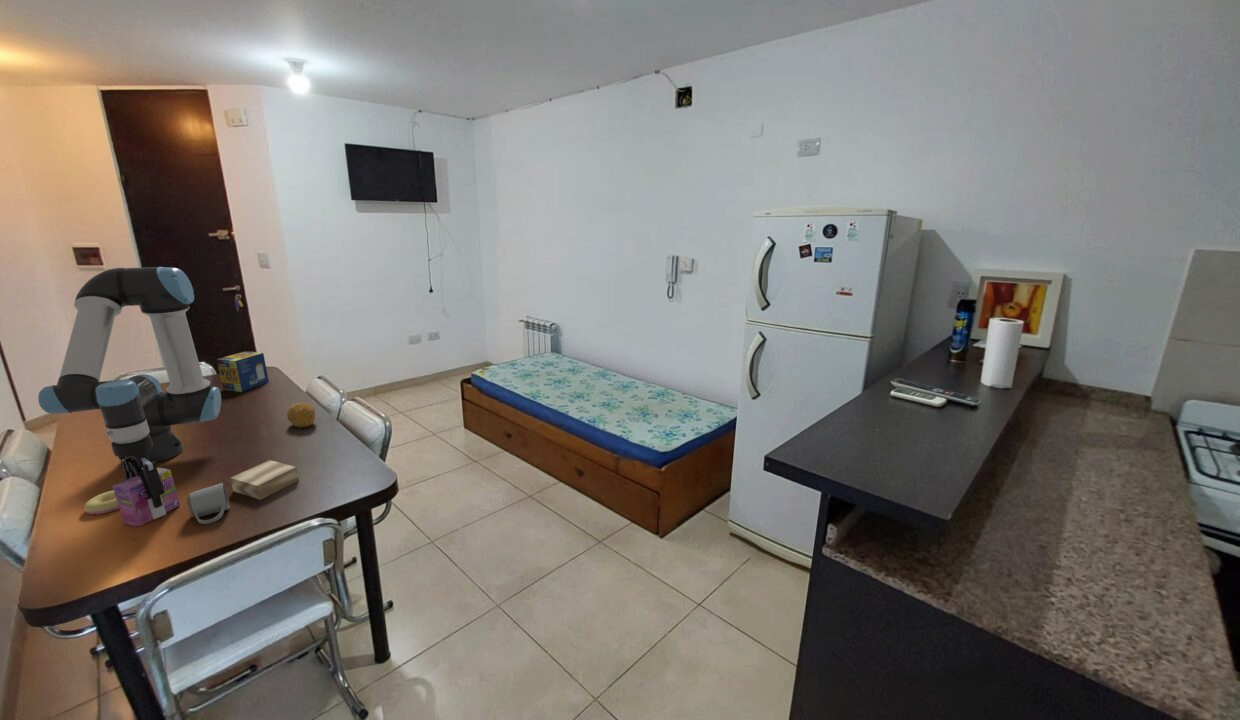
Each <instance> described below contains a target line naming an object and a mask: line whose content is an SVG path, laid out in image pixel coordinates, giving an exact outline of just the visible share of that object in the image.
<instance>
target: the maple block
mask: <svg viewBox="0 0 1240 720" xmlns="http://www.w3.org/2000/svg"><path fill="white" fill-rule="evenodd" d="M298 481H300V479H299V474H298V469H297V467H296V466H293V465H290V464H286V463H282V462H278V461H276V460H275V461H274V460H271V459H269V460H267V461H264V462H262V463H260V464H257V465H255V466H254V467H251V468H249V469H247V470H244V471H242V472H239V473H238V474H235V475H233V476H231V477H230V483H231V487H232V492H234V493H238V494H241V495H245V496H246V497H251V498H254V499H257V500H263V499H264V498H267V497H269V496H270V495H273V494H275V493H277V492H278V491H280V490H283V489H284V488H286V487H288V486H291V485H292V484H294V483H296V482H298Z"/></svg>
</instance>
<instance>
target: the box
mask: <svg viewBox="0 0 1240 720" xmlns="http://www.w3.org/2000/svg"><path fill="white" fill-rule="evenodd" d="M157 471H158V474H159V477H160V480H161V483H162V486H163V489H164V492H165V494H163V495H161V497H162V501H163V504H164V508H165V511H166V513H168V512H170V511H172V510H173V509H175V508H177V507H179V506H181V502H180V499H179V497H178V493H177V490H176V486H175V482H174V478H173V476H172V471H171V469H169V468H162V467H157ZM111 487H112V489H113V490H114V493H115V496H116V499H117V503H118V506H119V509H118V510H119V511H120V514H121V515H120V516H121V517H122V522H123V524H125V525H130V526H133V527H134V526H135V527H141V526H143V525H145V524H147V523H149V522H151V521H153V520H154V519H153V518H152V515H151V511H150V508H149V504H148V501H147V500H146V499H145V498H147V497H148V495H147V493H146V491H145V488H144V485H143V482H141V480H140V477H139V476H135V477H132V478H130V479H128V480H126V479H125V480H123V481H121V482H118V483H116V484H114V485H111ZM113 490H112V491H113Z"/></svg>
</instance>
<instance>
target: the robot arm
mask: <svg viewBox="0 0 1240 720" xmlns="http://www.w3.org/2000/svg"><path fill="white" fill-rule="evenodd" d="M194 301H195V294H194V288H193V286H192V282H191V280H190V279H189V277H188V276H187V274H185V272H184V271H183V270H181V269H180V268H176V267H168V266H167V267H164V266H154V267H153V266H151V267H147V266H145V267H115V268H114V267H113V268H108V269H106V270H103V271H102V272H98V273H97V274H96V275H94V276H92V277H91V278H90V279H88V281H86V282H84V285H83V286H82V287H81V288H80V289H79V291H78V292H77V294H76V297H75V300H74V303H73V305H74V308H75V309H76V310H77V312H76V316H75V318H74V319H75V320H74V323H73V326H72V330H71V334H70V337H69V341H68V344H67V348H66V352H65V355H64V359H63V362H62V367H61V370H60V373H59V374H60V375H59V377H58V379H57V382H56V385H55V384H52V385H49V386H44V387H43V388H42V389H41V390H39V393H38V396H37V397H38V398H37V399H38V400H37V401H38V405H39V407H40V408H41V409H42V411H44V412H45V413H46V414H47V413H48V414H51V415H55V414H72V413H77V412H78V413H79V412H86V411H94V410H100V412H101V415H102V419H103V421H104V424H105V428H106V430H107V431H106V432H104V434H105V436H108V437H109V441H111V443H110V445H111V448H112V451H113V455H114V456H115V457H117V458H118V459H119V461H120V463H121V468H122V470H123V474H124V479H125V480H128V479H130V478H132V477H135V476H139V477H140V480H141V482H143V485H144V488H145V491H146V493H147V495H148V497H147V498H145V499H146V500H147V501H148V504H149V508H150V511H151V515H152V518H153V520H156V519H158V518H162V517H163V516H166V515H167V512H166V511H165V508H164V504H163V501H162V497H161V495H163V494H165V492H164V489H163V486H162V483H161V480H160V477H159V474H158V471H157V468H158V467H157V466H158V465H157V463H160V462H164V461H166V460H168V459H171V458H173V457H176V456H178V455H180V454H181V453H182V452H183V451H184V446H183V442H182V441H181V440H180V438H179V437H178V436H177V435H176V434H175V432H174V431H173V430H172V426H175V425H184V424H186V425H187V424H192V423H193V424H194V423H203V422H208V421H213V420H215V419H216V418H218V416H219V414H220V411H221V405H222V394H221V390H220V388H219V387H218V386H212V384H211V381H210V380H209V379H206V378H204V376H203V373H202V369H201V365H200V362H199V358H198V354H197V351H196V347H195V342H194V340H193V337H192V332H191V329H190V326H189V322H188V318H187V314H186V312H188V311H189V310H190V307H191V306H190V304H192V303H193V302H194ZM128 306H133V307H134V306H135V307H136V306H137V307H138V306H139V308H140V311H141V313H142V314H144V315H145V316H147V317H149V319H150V322H151V325H152V328H153V332H154V335H155V338H156V342H157V345H158V348H159V352H160V355H161V357H162V360H163V361H162V362H163V364H164V368H165V371H166V375H167V378H168V380H169V385H168V386H167V387H166V388H165V391H164V392H163V390H162V386H161V383H160V381H159V380H158V379H157V378H156V377H154V376H152V375H149V374H145V373H144V374H137V375H133V376H131V377H128V378H127V379H116V380H114V379H113V380H105V381H100V379H101V376H102V371H103V368H104V364H105V360H106V359H105V358H106V355H107V352H108V351H107V350H108V347H109V344H110V343H109V342H110V338H111V334H112V330H113V327H114V326H113V325H114V322H115V318H116V316H119V315H120V314H121V312H122V309H123V308H125V307H128Z"/></svg>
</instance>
